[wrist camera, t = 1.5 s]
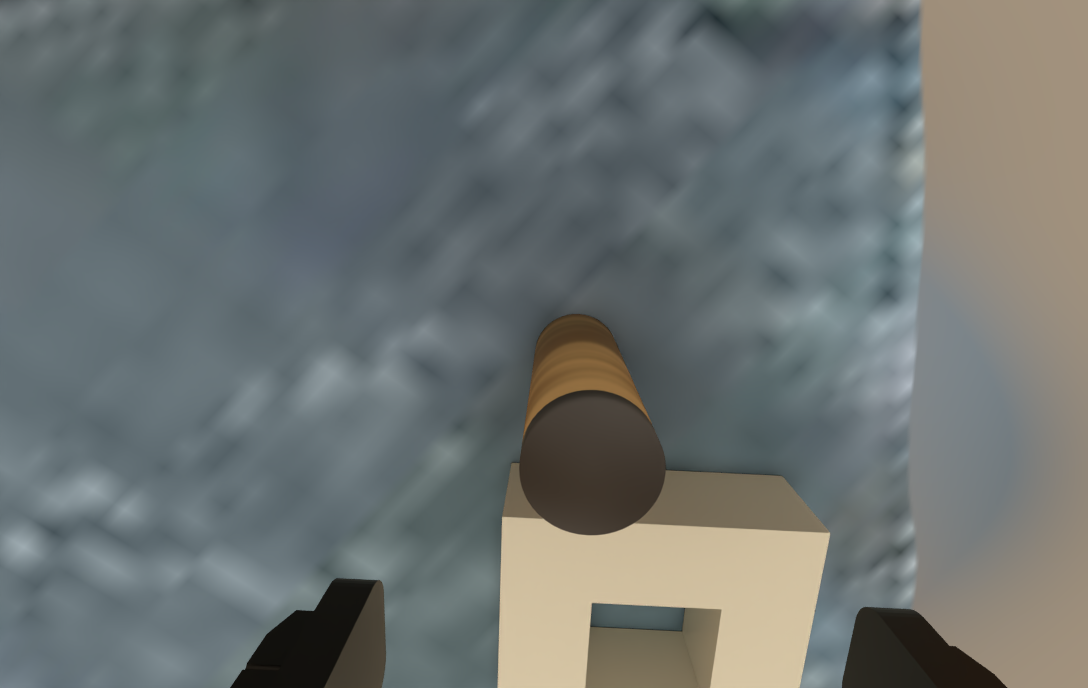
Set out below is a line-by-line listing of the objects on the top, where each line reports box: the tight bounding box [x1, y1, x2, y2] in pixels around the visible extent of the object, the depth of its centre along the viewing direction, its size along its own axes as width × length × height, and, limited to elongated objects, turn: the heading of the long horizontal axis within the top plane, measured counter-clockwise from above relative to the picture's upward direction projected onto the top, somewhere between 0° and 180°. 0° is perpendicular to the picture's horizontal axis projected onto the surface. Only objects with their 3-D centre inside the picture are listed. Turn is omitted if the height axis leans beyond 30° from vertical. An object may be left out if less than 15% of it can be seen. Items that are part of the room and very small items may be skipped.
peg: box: [519, 314, 666, 535], centre depth 20 cm, size 4×4×12 cm
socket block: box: [498, 463, 830, 688], centre depth 27 cm, size 14×14×5 cm
